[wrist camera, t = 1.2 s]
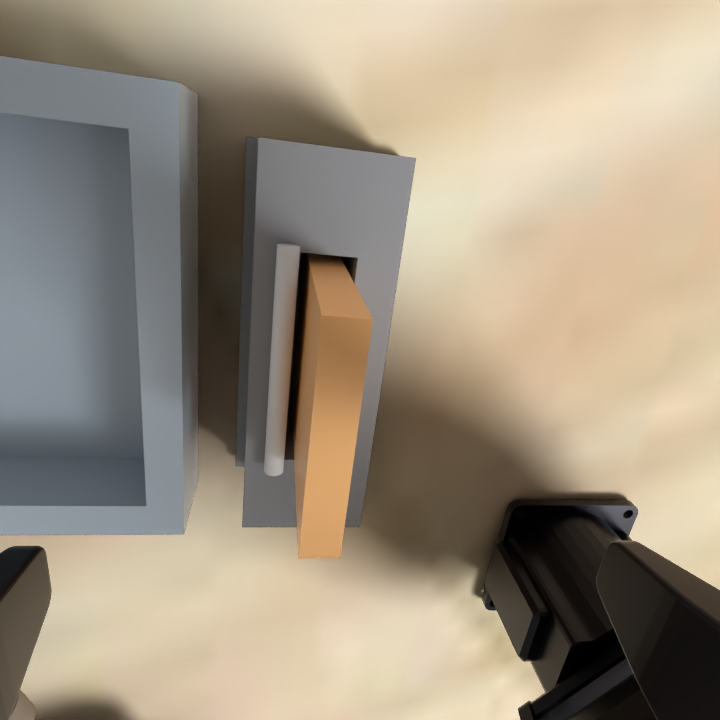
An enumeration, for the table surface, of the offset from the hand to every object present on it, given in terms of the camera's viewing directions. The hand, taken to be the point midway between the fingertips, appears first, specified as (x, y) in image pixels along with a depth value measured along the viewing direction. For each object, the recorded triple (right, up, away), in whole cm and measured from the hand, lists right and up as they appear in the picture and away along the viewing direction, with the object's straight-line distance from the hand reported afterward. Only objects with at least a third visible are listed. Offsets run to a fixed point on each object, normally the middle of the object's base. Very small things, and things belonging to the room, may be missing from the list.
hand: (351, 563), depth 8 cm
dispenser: (-2, +5, +11) cm, 12 cm away
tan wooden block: (-2, +4, +10) cm, 11 cm away
